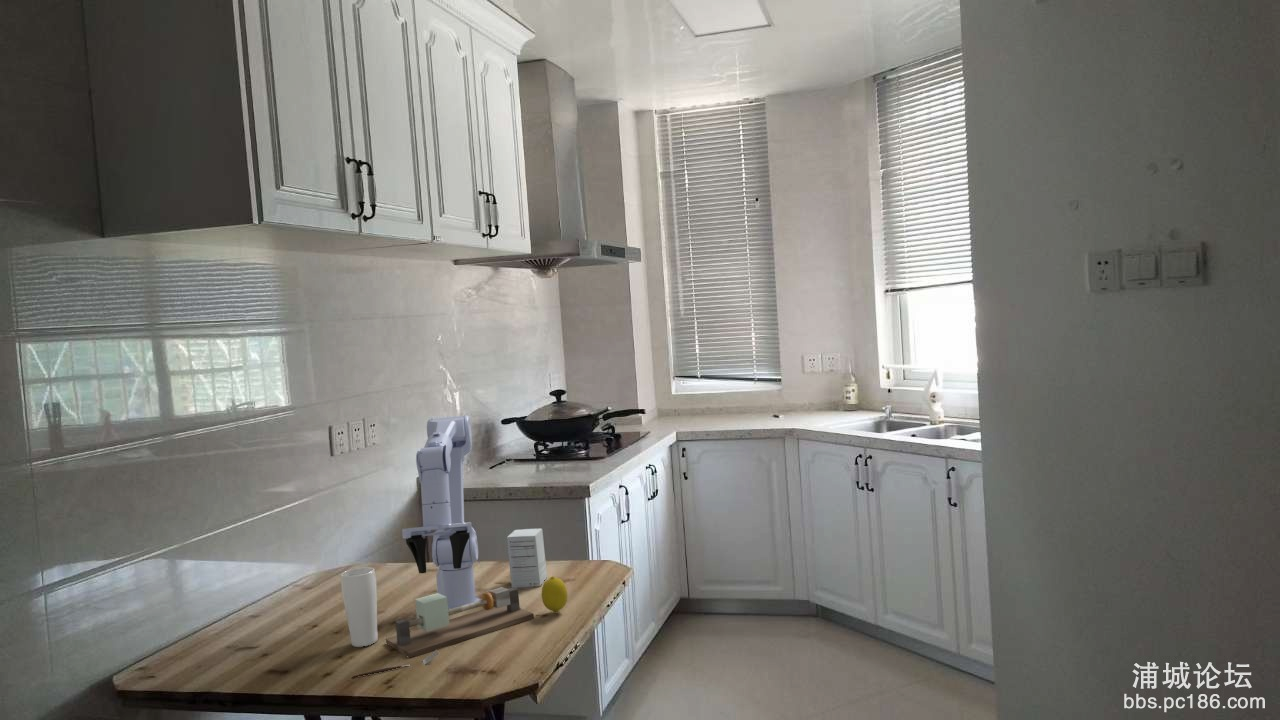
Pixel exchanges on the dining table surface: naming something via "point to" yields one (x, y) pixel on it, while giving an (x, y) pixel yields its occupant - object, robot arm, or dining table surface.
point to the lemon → (554, 594)
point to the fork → (401, 666)
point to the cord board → (462, 623)
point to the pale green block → (432, 611)
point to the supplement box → (526, 558)
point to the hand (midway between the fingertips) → (440, 570)
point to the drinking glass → (360, 605)
